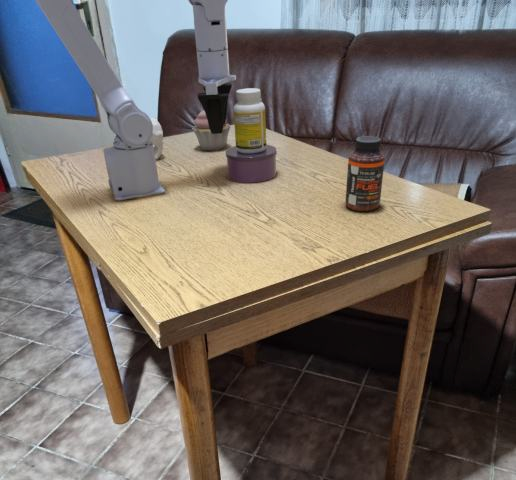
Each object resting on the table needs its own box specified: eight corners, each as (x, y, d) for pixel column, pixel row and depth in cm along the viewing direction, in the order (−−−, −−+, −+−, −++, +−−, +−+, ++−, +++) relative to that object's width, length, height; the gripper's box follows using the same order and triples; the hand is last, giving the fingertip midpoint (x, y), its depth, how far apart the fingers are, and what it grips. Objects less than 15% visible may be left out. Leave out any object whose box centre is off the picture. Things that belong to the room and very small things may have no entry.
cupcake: (194, 144, 130) (190, 100, 124) (231, 141, 130) (228, 98, 124) (193, 154, 122) (188, 108, 116) (232, 151, 122) (229, 106, 116)
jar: (236, 186, 101) (234, 160, 99) (220, 172, 109) (218, 147, 107) (285, 178, 104) (284, 152, 101) (266, 165, 112) (265, 141, 109)
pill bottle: (249, 144, 108) (246, 86, 101) (272, 148, 104) (271, 88, 98) (229, 151, 104) (225, 91, 97) (253, 156, 100) (250, 94, 94)
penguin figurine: (161, 118, 114) (108, 130, 112) (170, 157, 119) (119, 169, 117) (155, 113, 119) (104, 125, 117) (164, 150, 124) (115, 162, 122)
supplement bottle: (353, 214, 87) (358, 145, 80) (339, 202, 92) (343, 136, 85) (385, 209, 88) (393, 140, 81) (370, 198, 93) (376, 132, 86)
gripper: (231, 53, 88) (236, 136, 96) (236, 44, 100) (240, 119, 107) (190, 55, 88) (199, 138, 96) (200, 46, 100) (207, 120, 108)
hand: (218, 128), depth 102 cm, fingers open, 7 cm apart
